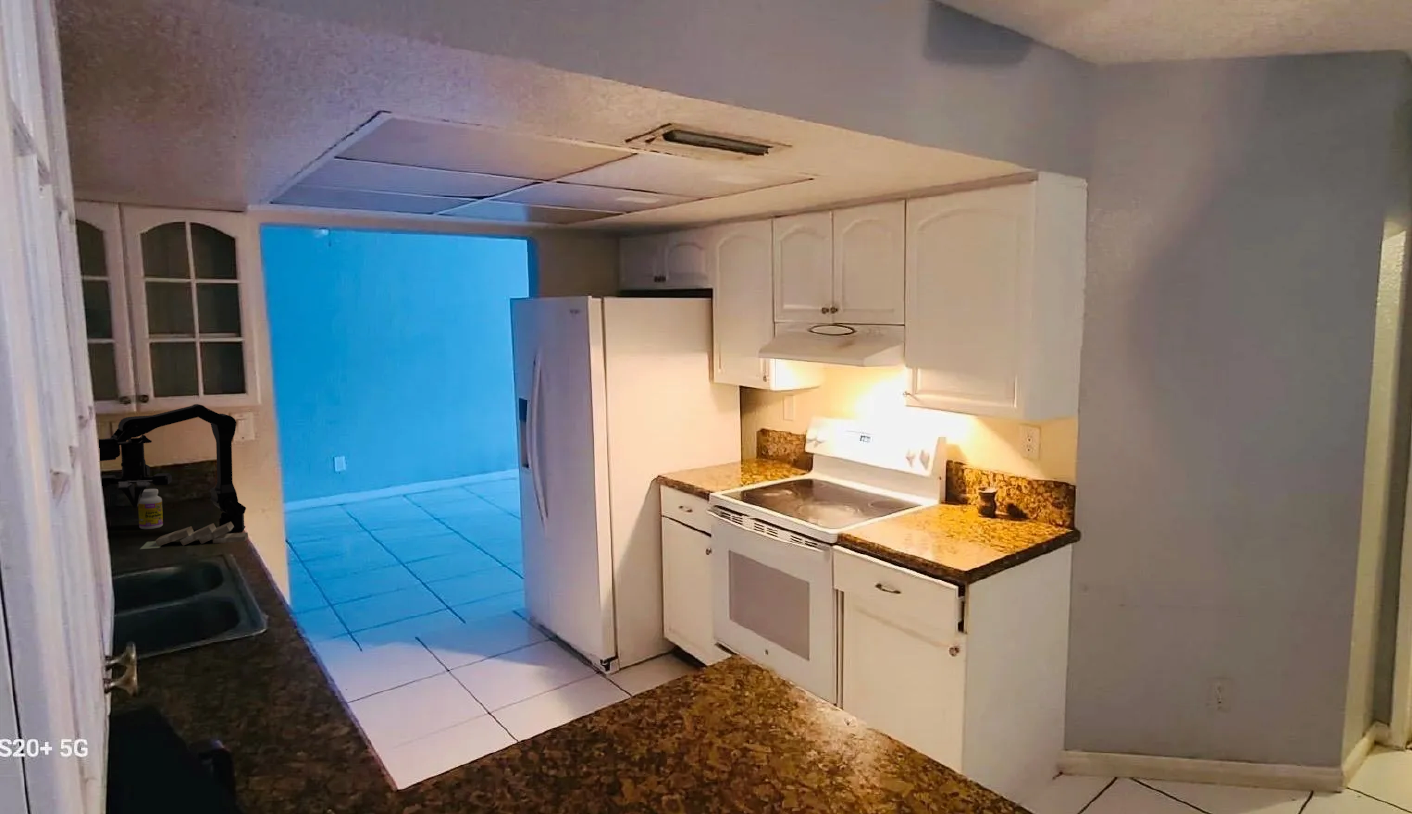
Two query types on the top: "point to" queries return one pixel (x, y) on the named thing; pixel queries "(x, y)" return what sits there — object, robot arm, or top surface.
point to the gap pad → (150, 545)
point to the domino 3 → (231, 538)
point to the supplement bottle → (150, 510)
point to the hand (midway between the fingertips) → (135, 507)
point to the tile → (174, 536)
